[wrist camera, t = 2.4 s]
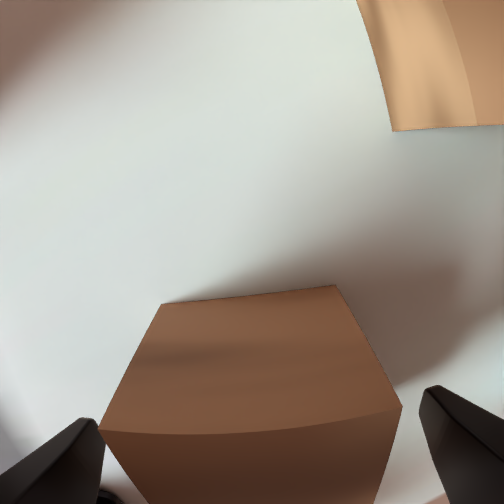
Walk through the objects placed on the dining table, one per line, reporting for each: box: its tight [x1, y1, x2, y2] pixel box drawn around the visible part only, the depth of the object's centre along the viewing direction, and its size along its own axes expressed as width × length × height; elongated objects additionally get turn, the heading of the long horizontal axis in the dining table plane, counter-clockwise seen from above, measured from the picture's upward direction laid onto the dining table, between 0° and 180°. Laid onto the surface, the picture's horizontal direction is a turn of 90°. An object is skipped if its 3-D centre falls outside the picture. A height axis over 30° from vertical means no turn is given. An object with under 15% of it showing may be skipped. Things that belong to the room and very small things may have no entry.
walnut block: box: [98, 285, 403, 504], centre depth 7 cm, size 5×5×5 cm
